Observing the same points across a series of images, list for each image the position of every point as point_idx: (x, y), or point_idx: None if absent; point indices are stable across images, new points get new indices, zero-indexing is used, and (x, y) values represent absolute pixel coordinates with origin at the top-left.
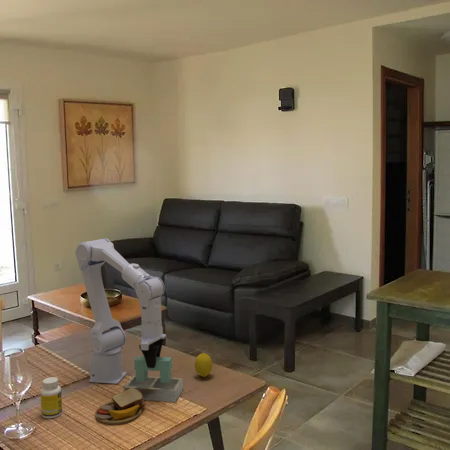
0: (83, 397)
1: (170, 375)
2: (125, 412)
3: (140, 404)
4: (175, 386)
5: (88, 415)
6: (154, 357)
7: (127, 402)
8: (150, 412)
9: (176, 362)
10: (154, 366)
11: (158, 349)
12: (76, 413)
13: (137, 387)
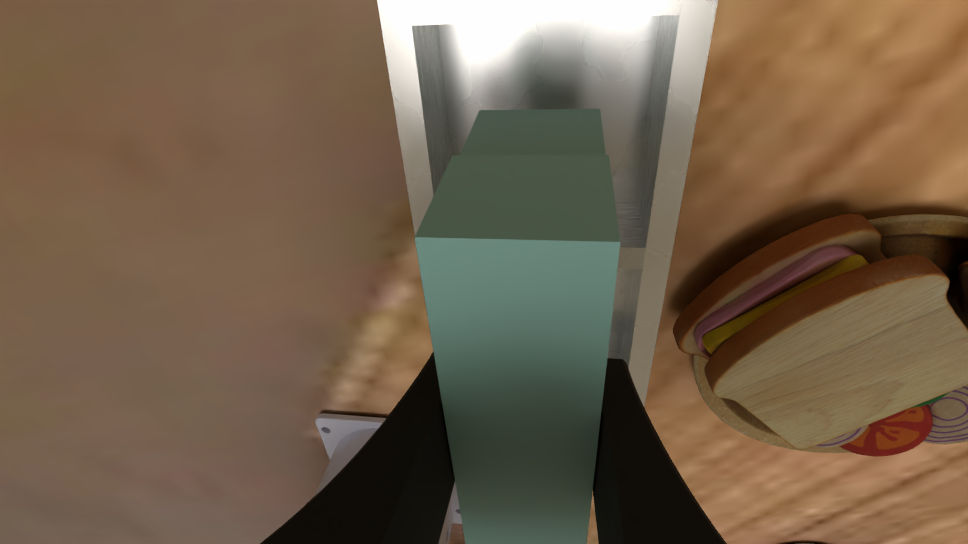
0: None
1: (515, 129)
2: None
3: (868, 251)
4: (603, 13)
5: (843, 459)
6: (693, 501)
7: (946, 353)
8: (879, 142)
9: (5, 189)
10: (626, 371)
11: (403, 515)
12: (808, 501)
13: (644, 346)
